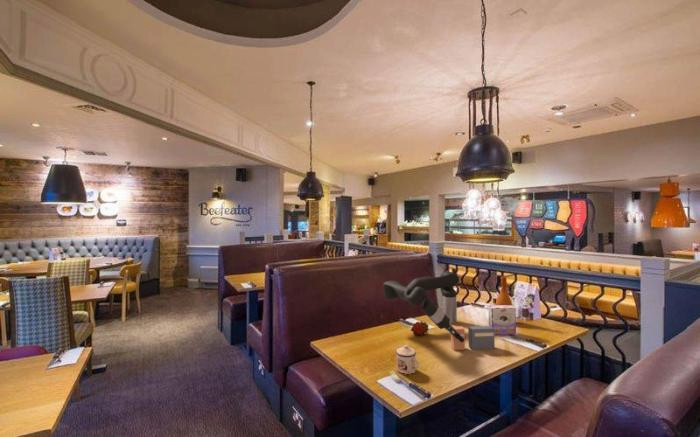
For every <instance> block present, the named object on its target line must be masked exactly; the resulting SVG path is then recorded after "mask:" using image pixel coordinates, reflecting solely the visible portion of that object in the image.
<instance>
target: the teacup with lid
mask: <svg viewBox="0 0 700 437" xmlns="http://www.w3.org/2000/svg"><path fill="white" fill-rule="evenodd" d="M395 353H396V370H398V371H399V372H401V373H405V374H404V375H406V374H409V375H412V374H411V373H413V374H415V373H416V370H418V369H419V367H420V363H419V361H418V359H417V358H416V353H417V352H416V350H415V349H414V348H412V347H409V345H407V344H405V345H403V346H401V347H398V348H397V349H396V350H395ZM398 371H397V372H398ZM399 372H398V373H399ZM401 373H400V374H401Z"/></svg>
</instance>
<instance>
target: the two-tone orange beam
mask: <svg viewBox="0 0 700 437" xmlns="http://www.w3.org/2000/svg"><path fill="white" fill-rule="evenodd" d="M453 327H454V328H455V329H456V330H457V333H458V334H460V336H461V337H462V338H463V339H464V341H463V342H460V341H459V340H458V339H456V337H455V336H453V335H451V334H450V347H451V349H452V350H453V351H463V350H465V349H466V348H465V347H466V346H465V344H466V343H465V342H466V340H465V337H466V336H465V335H466V334H465V331H466V330H465V328H464V327H463V325H462V326H453Z"/></svg>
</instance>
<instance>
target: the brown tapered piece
mask: <svg viewBox="0 0 700 437" xmlns="http://www.w3.org/2000/svg"><path fill="white" fill-rule="evenodd" d="M507 283H508V280H507V277H506V276H501V278H500V284H501V289H500V292H499V295H498V296H497V299H496V302H495V305H512V306H513V303H512V300H511V297H510V294H509V291H508V289H507Z"/></svg>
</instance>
